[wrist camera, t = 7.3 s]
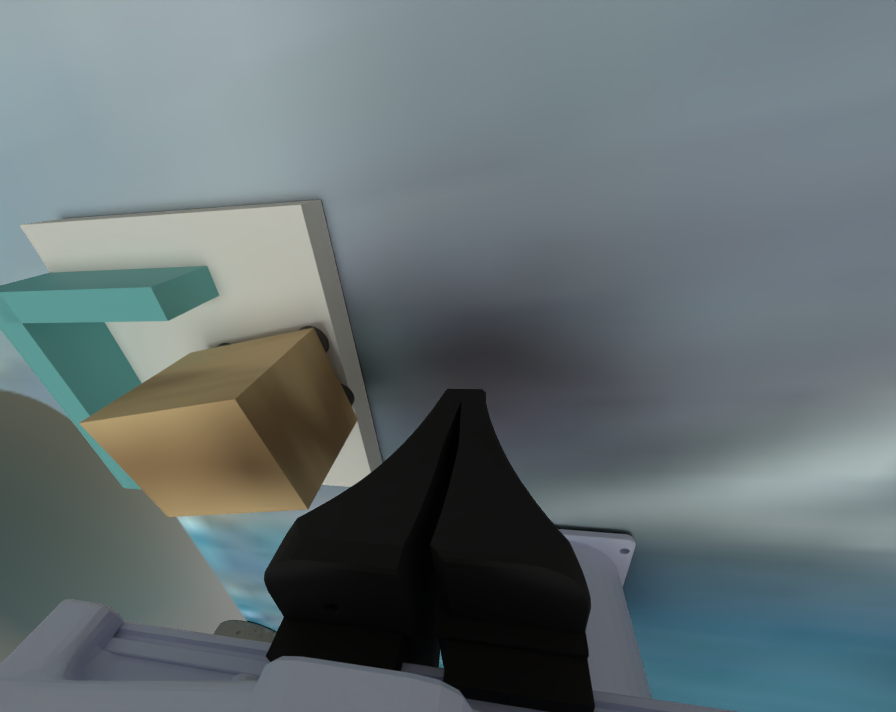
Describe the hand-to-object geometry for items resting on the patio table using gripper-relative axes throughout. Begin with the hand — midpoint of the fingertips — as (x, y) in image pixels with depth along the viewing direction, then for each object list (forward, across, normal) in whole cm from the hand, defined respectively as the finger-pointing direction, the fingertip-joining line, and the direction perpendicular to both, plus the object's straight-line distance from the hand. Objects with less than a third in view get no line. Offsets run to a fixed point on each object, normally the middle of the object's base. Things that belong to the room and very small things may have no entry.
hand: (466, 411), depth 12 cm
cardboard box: (+2, +8, 0) cm, 9 cm away
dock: (+4, +12, 0) cm, 12 cm away
